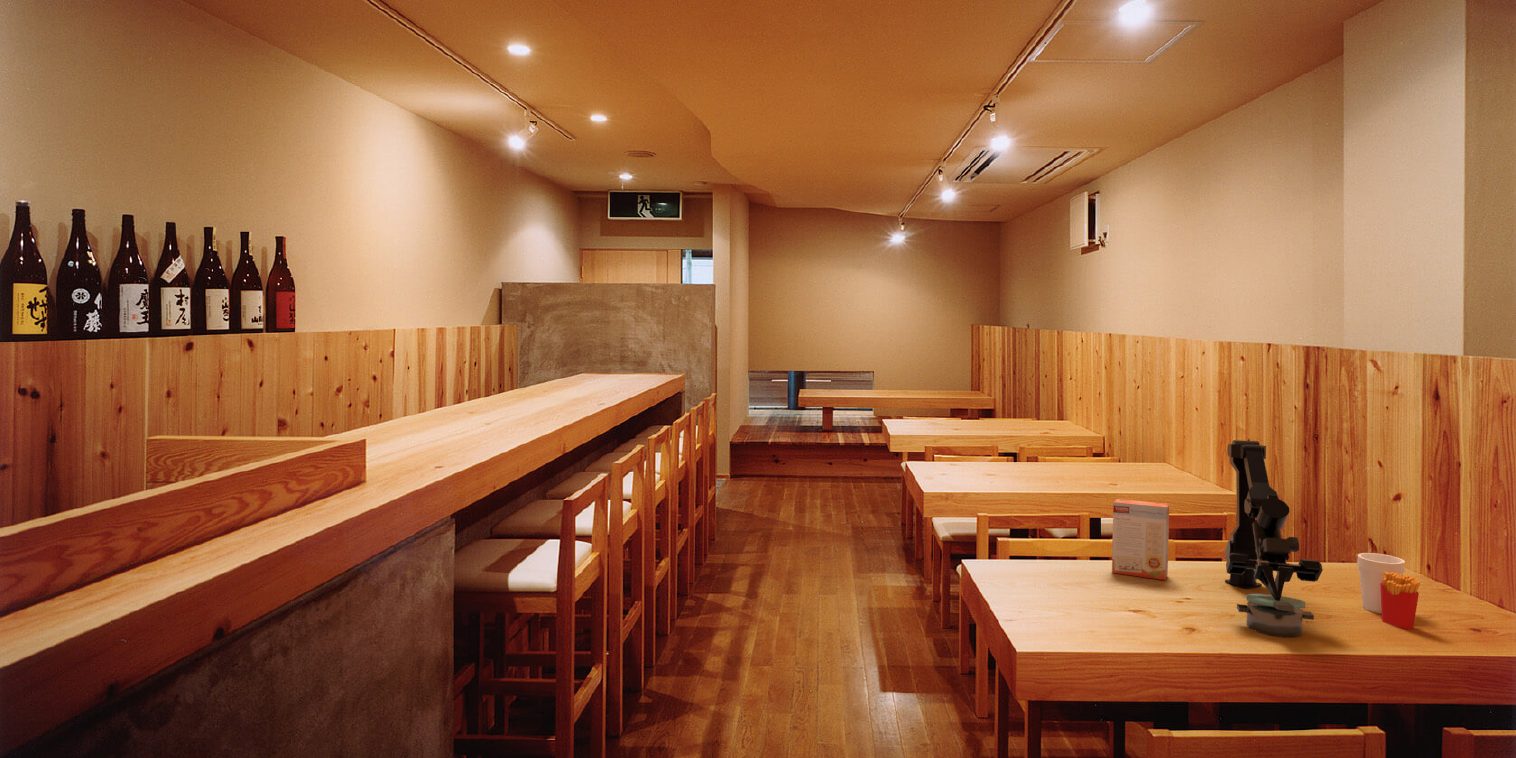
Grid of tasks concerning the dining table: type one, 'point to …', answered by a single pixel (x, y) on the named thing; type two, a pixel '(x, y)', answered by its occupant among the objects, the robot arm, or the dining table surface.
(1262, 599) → the lid
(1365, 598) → the foam cup
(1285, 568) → the robot arm
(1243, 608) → the cooker pot
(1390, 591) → the french fries
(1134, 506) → the cracker box
